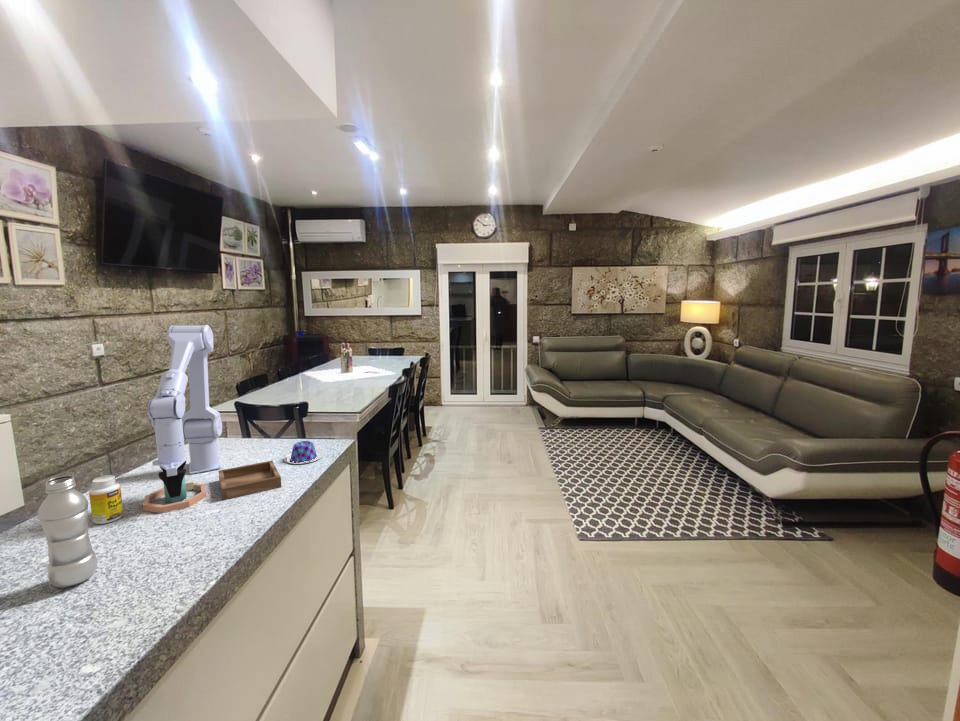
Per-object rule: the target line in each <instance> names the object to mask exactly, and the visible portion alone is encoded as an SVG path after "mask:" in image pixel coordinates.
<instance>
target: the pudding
mask: <svg viewBox="0 0 960 721" xmlns="http://www.w3.org/2000/svg"><path fill="white" fill-rule="evenodd" d="M316 453H318V454H319V457H318V456H317V454H316ZM290 455H291V459H292V460H291V459H290V460H291V461H295V462H296V461H298V462H302V463H303V462H304V461H310V462H306V463H305V464H307V463H312V462H315V461H317V460H320V459H321V458H323V457H324V452H322V451H320V450H318V449H317V450H316V448H315V445H314V443H313V442H312V441H310V440H302V441H297V442H295V443H293V446H292V451H291V453H289V454H287V455H285V456H284V458H283V460H284V461H285V462H286V463H289V464H294V465H295V464H297V465H299V464H300V465H301V464H302V463H298V462H296V463H292V462H288V461H287V457H288V456H290ZM316 457H318V458H317V459H315V458H316ZM312 459H313V461H311V460H312ZM314 459H315V460H314Z"/></svg>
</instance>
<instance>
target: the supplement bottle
mask: <svg viewBox="0 0 960 721" xmlns="http://www.w3.org/2000/svg"><path fill="white" fill-rule="evenodd" d="M91 482H92V487H90V489H89V490H88V496H89V504H90V509H91V510H90V511H91V519H92V522H93V523H94V524H96V525H103V524H109V523H113V522H115V521H117V520H119V519H121V518H122V517H123V516H124V505H123V498H122V488H121V486H122V485H121V484H120V483H119V482H117V481H116V476H115V475H114V474H105V475H101V476H98V477H95V478H93V480H92V481H91Z"/></svg>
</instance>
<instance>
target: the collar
mask: <svg viewBox="0 0 960 721" xmlns="http://www.w3.org/2000/svg"><path fill="white" fill-rule="evenodd" d="M193 487H194V489H195V490H194V491H198V490H201V491H200V492H199V493H197V494H195V495H194V496H191V497H190V498H188V499H185V500H184V501H181V502H176V503H172V504H167V503H166V504H159V503H158V504H157V503H151V501H153V500H156V499H158V498H160V497H162V496H165V492H164V486H163V487H161V488H159V489H156V490H155V491H153V492H151V493H149V494H147V495H145V496H144V498H143V503H142V507H143V508H142V509H143V512H152V513H159V514H163V513H164V514H165V513H168V512H169V513H170V512H173V510H174V511H178V510H183V509H186V507H187V508H190V507H192V506H193V505H195V504H197V503H198V501H199V502H200V501H202V500H204V499H206V498H207V492H206V483H197V482H193ZM205 497H206V498H205ZM203 498H204V499H203ZM191 505H192V506H191ZM177 509H178V510H177Z"/></svg>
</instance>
